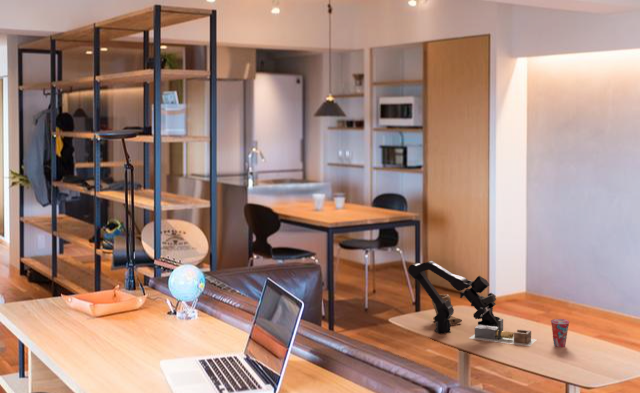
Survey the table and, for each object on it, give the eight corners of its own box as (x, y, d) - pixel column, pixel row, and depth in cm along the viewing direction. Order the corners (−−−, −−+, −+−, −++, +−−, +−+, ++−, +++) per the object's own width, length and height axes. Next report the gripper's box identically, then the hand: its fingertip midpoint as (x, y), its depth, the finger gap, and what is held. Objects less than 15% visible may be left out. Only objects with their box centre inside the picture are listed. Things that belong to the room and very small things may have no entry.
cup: (569, 349, 374) (570, 323, 373) (551, 348, 376) (551, 323, 375) (567, 343, 383) (568, 318, 382) (549, 342, 385) (549, 318, 384)
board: (468, 338, 393) (468, 338, 393) (477, 332, 404) (477, 332, 404) (529, 346, 378) (529, 346, 378) (536, 340, 390) (536, 339, 390)
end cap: (501, 329, 411) (501, 316, 411) (491, 331, 407) (491, 318, 407) (487, 325, 420) (487, 312, 419) (477, 327, 416) (477, 314, 415)
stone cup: (427, 321, 429) (427, 293, 428) (445, 318, 435) (445, 291, 433) (444, 327, 416) (444, 298, 414) (462, 324, 422) (463, 296, 420)
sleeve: (474, 337, 395) (474, 327, 395) (478, 334, 401) (478, 324, 400) (495, 339, 390) (495, 330, 389) (499, 336, 395) (499, 327, 395)
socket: (513, 342, 385) (513, 332, 385) (517, 338, 391) (517, 329, 391) (527, 344, 382) (527, 334, 382) (531, 340, 388) (531, 330, 388)
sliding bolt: (477, 336, 395) (477, 318, 395) (480, 334, 399) (480, 316, 398) (511, 340, 387) (511, 322, 386) (514, 338, 391) (514, 320, 390)
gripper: (479, 292, 385) (502, 317, 381) (491, 285, 401) (513, 309, 397) (464, 306, 390) (486, 331, 385) (476, 299, 406) (497, 322, 402)
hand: (496, 323), depth 392 cm, fingers closed
